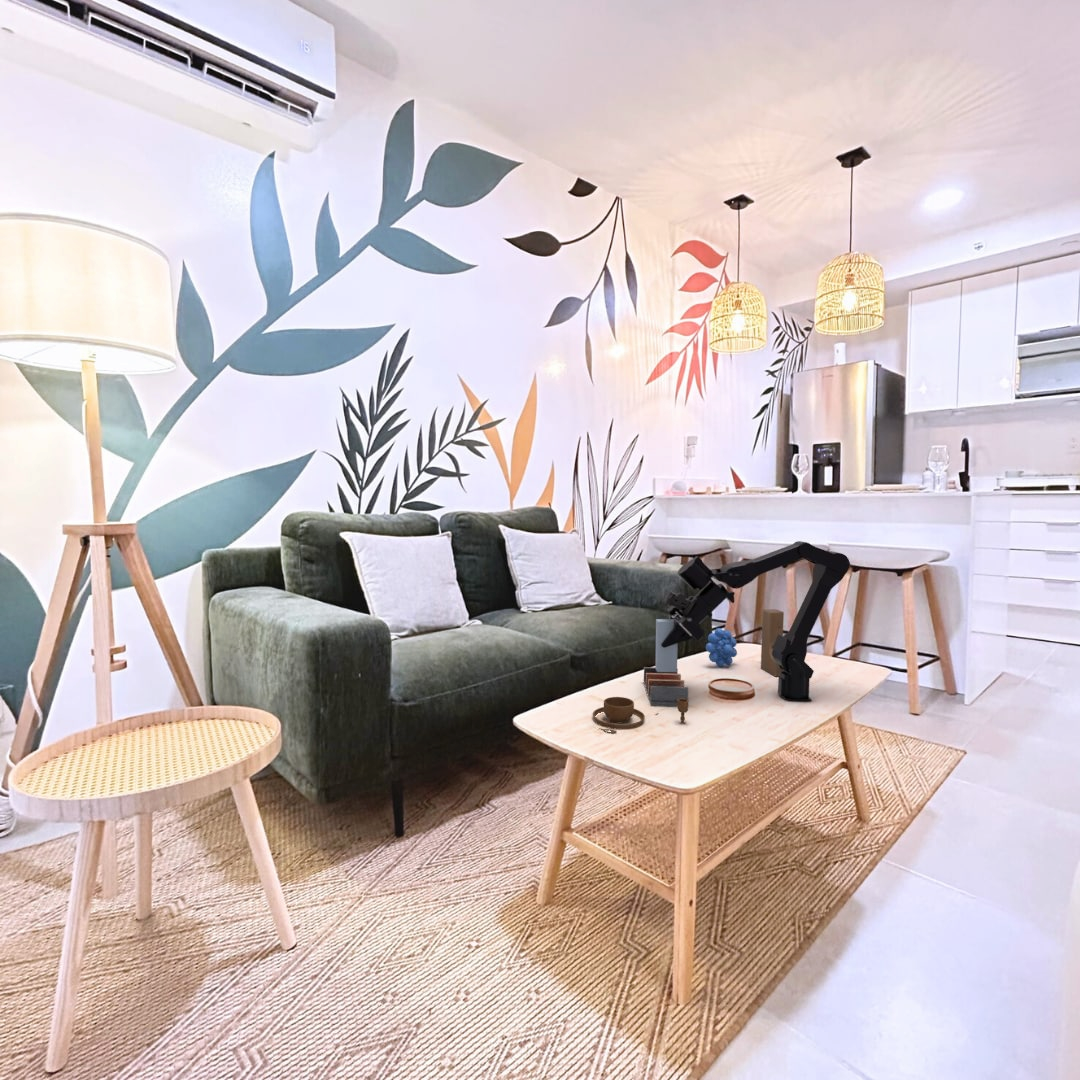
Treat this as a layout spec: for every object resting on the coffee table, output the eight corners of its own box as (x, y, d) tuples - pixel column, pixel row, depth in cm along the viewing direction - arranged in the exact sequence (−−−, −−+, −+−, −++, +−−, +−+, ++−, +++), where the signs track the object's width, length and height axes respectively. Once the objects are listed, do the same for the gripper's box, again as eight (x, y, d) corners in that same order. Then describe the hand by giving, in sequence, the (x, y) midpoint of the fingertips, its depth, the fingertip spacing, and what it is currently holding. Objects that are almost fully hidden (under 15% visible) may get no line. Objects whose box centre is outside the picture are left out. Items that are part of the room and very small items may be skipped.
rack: (676, 683, 167) (676, 667, 166) (688, 707, 148) (688, 689, 148) (643, 682, 167) (643, 666, 167) (651, 706, 149) (651, 688, 148)
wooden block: (790, 676, 173) (792, 614, 172) (775, 677, 172) (778, 615, 171) (774, 667, 182) (776, 608, 181) (760, 668, 181) (762, 609, 180)
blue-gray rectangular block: (674, 668, 157) (675, 619, 156) (677, 672, 154) (677, 621, 153) (655, 668, 157) (656, 619, 156) (657, 671, 154) (657, 621, 153)
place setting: (615, 705, 150) (615, 682, 150) (691, 724, 138) (692, 699, 138) (576, 727, 136) (576, 701, 136) (658, 749, 124) (658, 722, 124)
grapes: (715, 672, 177) (717, 632, 176) (700, 667, 183) (701, 627, 182) (746, 668, 182) (747, 628, 181) (730, 662, 188) (731, 624, 187)
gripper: (675, 575, 163) (634, 615, 164) (691, 585, 144) (645, 631, 145) (704, 604, 163) (662, 644, 164) (724, 618, 145) (677, 663, 146)
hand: (661, 644), depth 155 cm, fingers closed on blue-gray rectangular block, 3 cm apart
